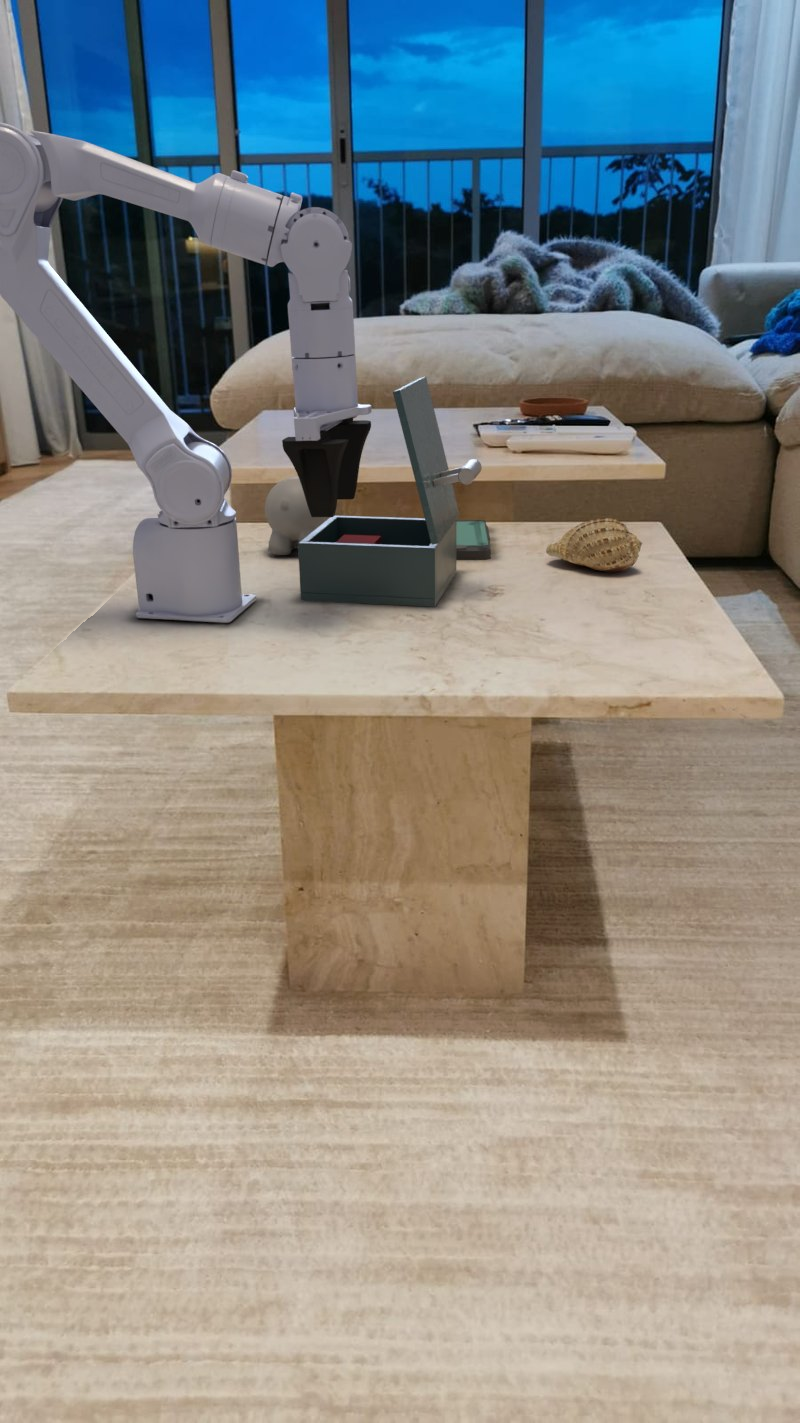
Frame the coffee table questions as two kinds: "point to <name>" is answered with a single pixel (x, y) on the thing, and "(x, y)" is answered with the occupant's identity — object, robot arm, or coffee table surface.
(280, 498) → the chubby cartoon animal
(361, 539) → the block
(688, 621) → the coffee table surface
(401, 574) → the grey-green open box
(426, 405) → the lid
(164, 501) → the robot arm
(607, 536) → the seashell
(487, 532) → the smartphone
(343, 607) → the coffee table surface
